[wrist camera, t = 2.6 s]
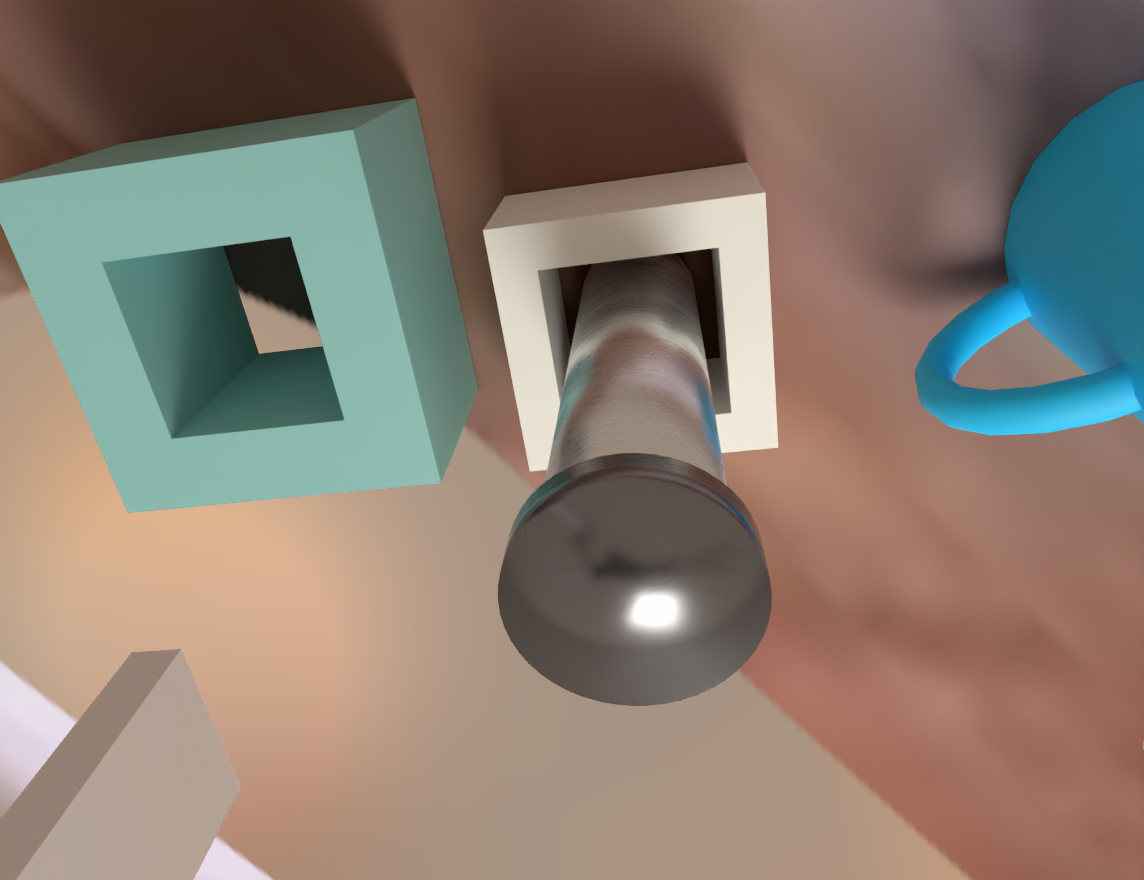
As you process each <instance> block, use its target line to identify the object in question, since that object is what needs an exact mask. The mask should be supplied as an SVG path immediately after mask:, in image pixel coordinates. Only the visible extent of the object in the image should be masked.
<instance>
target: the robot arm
mask: <svg viewBox="0 0 1144 880" xmlns="http://www.w3.org/2000/svg"><path fill="white" fill-rule="evenodd" d="M1143 749H1144V743H1143ZM240 788H241V786H240V783H239V781H238V779H237V777H236V774H235V772H234V770H233V767H232V765H231V763H230V760H229V758H228V756H227V754H226V751H225V749H224V747H223V744H222V742H221V740H220V737H219V735H218V733H217V731H216V728H215V727H214V724H213V721H212V719H211V717H210V715H209V712H208V710H207V708H206V705H205V703H204V701H203V699H202V696H201V694H200V692H199V689H198V687H197V685H196V683H195V680H194V678H193V676H192V673H191V671H190V669H189V666H188V664H187V662H186V660H185V657H184V655H183V653H182V651H181V649H177V650H164V651H163V650H162V651H148V652H134V653H133V652H132V653H131V654H130V656H129V657H128V658H127V659H126V661H125V662H124V663H123V665H122V666H121V667H120V668H119V670H118V671H117V672H116V673H115V675H114V676H113V677H112V679H111V680H110V681H109V682H108V684H107V685H106V686H105V687H104V689H103V690H102V691H101V693H100V694H99V695H98V696H97V698H96V699H95V700H94V702H93V703H92V704H91V705H90V706H89V708H88V709H87V710H86V712H85V713H84V714H83V715H82V717H81V718H80V719H79V720H78V722H77V723H76V724H75V726H74V727H73V728H72V729H71V731H70V732H69V733H68V734H67V736H66V737H65V738H64V740H63V741H62V742H61V743H60V745H59V746H58V747H57V749H56V750H55V751H54V752H53V754H52V755H51V756H50V757H49V759H48V760H47V761H46V763H45V764H44V765H43V766H42V768H41V769H40V770H39V771H38V773H37V774H36V775H35V777H34V778H33V779H32V780H31V782H30V783H29V784H28V785H27V787H26V788H25V789H24V791H23V792H22V793H21V794H20V796H19V797H18V798H17V799H16V801H15V802H14V803H13V805H12V806H11V807H10V808H9V810H8V811H7V812H6V813H5V815H4V816H3V817H2V819H1V820H0V880H193V879H194V877H195V875H196V873H197V871H198V870H199V868H200V866H201V864H202V862H203V860H204V858H205V856H206V854H207V852H208V850H209V848H210V846H211V844H212V842H213V840H214V839H215V837H216V835H217V833H218V831H219V829H220V827H221V825H222V823H223V821H224V819H225V817H226V815H227V813H228V811H229V809H230V807H231V805H232V804H233V802H234V800H235V798H236V796H237V794H238V791H239V790H240Z"/></svg>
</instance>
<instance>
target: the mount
mask: <svg viewBox="0 0 1144 880" xmlns="http://www.w3.org/2000/svg"><path fill="white" fill-rule="evenodd" d="M483 234H484V239H485V244H486V249H487V254H488V259H489V264H490V269H491V274H492V280H493V285H494V290H495V295H496V300H497V305H498V310H499V315H500V320H501V326H502V331H503V336H504V341H505V346H506V351H507V356H508V361H509V367H510V372H511V377H512V382H513V387H514V392H515V397H516V402H517V407H518V413H519V418H520V423H521V428H522V433H523V438H524V443H525V448H526V454H527V459H528V464H529V469H530V471H539V470H547V468H548V463H549V458H550V453H551V448H552V443H553V438H554V433H555V428H556V423H557V418H558V412H559V407H560V402H561V397H562V392H563V387H564V382H565V377H566V372H567V367H568V362H569V356H570V351H571V347H570V341H569V335H568V329H567V323H566V316H565V310H564V304H563V298H562V291H561V285H560V279H559V273H558V268H561V267H569V266H577V265H585V264H593V263H601V262H609V261H617V260H624V259H632V258H640V257H648V256H656V255H664V254H672V253H680V252H688V251H695V250H703V249H711V250H712V262H713V275H714V288H715V300H716V313H717V325H718V338H719V351H720V358H712V359H706V363H707V369H708V375H709V381H710V387H711V393H712V399H713V405H714V411H715V417H716V423H717V429H718V435H719V441H720V448H721V453H726V452H736V451H747V450H757V449H767V448H778V435H777V415H776V395H775V375H774V355H773V336H772V316H771V296H770V276H769V256H768V236H767V216H766V196H765V191H764V189H763V188H762V186H761V184H760V182H759V181H758V179H757V177H756V175H755V174H754V172H753V170H752V168H751V167H750V165H749V163H748V162H746V163H739V164H732V165H725V166H717V167H710V168H703V169H696V170H689V171H681V172H674V173H667V174H660V175H653V176H645V177H638V178H631V179H624V180H617V181H609V182H602V183H595V184H588V185H581V186H573V187H566V188H559V189H552V190H544V191H537V192H530V193H523V194H516V195H508V196H505V197H504V198H503V200H502V201H501V203H500V204H499V206H498V207H497V209H496V211H495V212H494V214H493V215H492V217H491V218H490V220H489V222H488V223H487V225H486V226H485V228H484V229H483Z"/></svg>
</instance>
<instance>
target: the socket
mask: <svg viewBox="0 0 1144 880" xmlns="http://www.w3.org/2000/svg"><path fill="white" fill-rule="evenodd" d="M0 223H1V225H2V228H3V230H4V232H5V234H6V237H7V239H8V241H9V244H10V246H11V248H12V250H13V253H14V255H15V257H16V259H17V262H18V264H19V266H20V269H21V271H22V273H23V275H24V278H25V280H26V282H27V284H28V287H29V289H30V291H31V294H32V296H33V298H34V300H35V303H36V305H37V307H38V309H39V312H40V314H41V316H42V319H43V321H44V323H45V325H46V327H47V330H48V332H49V334H50V336H51V339H52V341H53V343H54V346H55V348H56V350H57V353H58V355H59V357H60V359H61V362H62V364H63V366H64V368H65V371H66V373H67V375H68V377H69V380H70V382H71V384H72V387H73V389H74V391H75V393H76V396H77V398H78V400H79V403H80V405H81V407H82V409H83V411H84V414H85V416H86V418H87V421H88V423H89V425H90V428H91V430H92V432H93V434H94V436H95V439H96V441H97V443H98V446H99V448H100V450H101V453H102V455H103V457H104V459H105V462H106V464H107V466H108V468H109V471H110V472H111V475H112V478H113V480H114V482H115V484H116V487H117V489H118V491H119V493H120V495H121V498H122V500H123V503H124V505H125V507H126V509H127V512H128V513H132V512H133V513H134V512H144V511H154V510H165V509H175V508H185V507H196V506H206V505H217V504H227V503H237V502H248V501H258V500H269V499H279V498H288V497H289V498H290V497H300V496H310V495H320V494H331V493H342V492H352V491H362V490H372V489H383V488H394V487H404V486H414V485H424V484H435V483H441V481H442V479H443V477H444V474H445V472H446V469H447V467H448V464H449V462H450V459H451V457H452V454H453V452H454V449H455V447H456V444H457V442H458V439H459V437H460V434H461V432H462V430H463V427H464V425H465V422H466V420H467V417H468V415H469V412H470V410H471V407H472V405H473V402H474V400H475V397H476V395H477V392H478V386H477V381H476V377H475V372H474V367H473V363H472V358H471V353H470V349H469V344H468V339H467V335H466V330H465V326H464V321H463V316H462V312H461V307H460V302H459V298H458V293H457V288H456V284H455V279H454V274H453V270H452V265H451V261H450V256H449V251H448V247H447V242H446V237H445V233H444V228H443V223H442V219H441V214H440V209H439V205H438V200H437V195H436V191H435V186H434V182H433V177H432V172H431V168H430V163H429V158H428V154H427V149H426V144H425V140H424V135H423V130H422V126H421V121H420V117H419V112H418V107H417V103H416V98H410V99H404V100H398V101H391V102H385V103H378V104H372V105H366V106H359V107H353V108H346V109H340V110H333V111H327V112H321V113H314V114H308V115H301V116H295V117H288V118H282V119H276V120H269V121H263V122H256V123H250V124H244V125H237V126H231V127H224V128H218V129H211V130H205V131H199V132H192V133H186V134H179V135H173V136H166V137H160V138H154V139H147V140H141V141H134V142H128V143H122V144H117V145H114V146H111V147H108V148H104V149H101V150H98V151H95V152H92V153H88V154H85V155H82V156H79V157H76V158H72V159H69V160H66V161H63V162H59V163H56V164H53V165H50V166H47V167H43V168H40V169H37V170H34V171H31V172H27V173H24V174H21V175H18V176H15V177H11V178H8V179H5V180H2V181H0ZM283 237H291V240H292V243H293V247H294V250H295V254H296V257H297V260H298V264H299V267H300V271H301V274H302V277H303V281H304V284H305V288H306V291H307V294H308V298H309V301H310V305H311V308H312V311H313V315H314V318H315V322H316V325H317V328H318V332H319V335H320V338H321V342H322V345H323V346H322V347H314V348H305V349H297V350H289V351H280V352H272V353H263V354H259V353H258V350H257V347H256V344H255V341H254V338H253V335H252V332H251V329H250V326H249V322H248V320H247V316H246V313H245V310H244V308H243V304H242V301H241V298H240V295H239V292H238V289H237V286H236V283H235V280H234V277H233V274H232V271H231V268H230V265H229V262H228V259H227V256H226V253H225V250H224V247H223V246H225V245H232V244H239V243H247V242H254V241H261V240H269V239H276V238H283Z"/></svg>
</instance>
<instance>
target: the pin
mask: <svg viewBox="0 0 1144 880" xmlns="http://www.w3.org/2000/svg"><path fill="white" fill-rule="evenodd" d="M771 596H772V593H771V586H770V579H769V574H768V569H767V564H766V560H765V555H764V550H763V545H762V541H761V538H760V534H759V531H758V528H757V526H756V524H755V522H754V520H753V517H752V515H751V514H750V512H749V511H748V509H747V508H746V506H745V505H744V503H743V502H742V501H741V500H740V499H739V498H738V496H737V495H736V494H735V493H734V492H733V491H732V490H731V489H730V488H729V487H727V484H726V478H725V472H724V466H723V460H722V454H721V448H720V441H719V435H718V429H717V423H716V417H715V411H714V405H713V399H712V393H711V387H710V381H709V375H708V369H707V363H706V357H705V350H704V344H703V338H702V332H701V326H700V320H699V314H698V308H697V302H696V296H695V290H694V284H693V280H692V276H691V274H690V272H689V270H688V268H687V266H686V265H685V263H684V262H683V261H682V260H681V258H680V257H679V256H678V255H676V254H675V253H672V254H664V255H656V256H648V257H640V258H632V259H624V260H617V261H609V262H601V263H593V264H592V266H591V267H590V269H589V271H588V273H587V275H586V278H585V281H584V285H583V290H582V295H581V300H580V306H579V311H578V316H577V321H576V326H575V331H574V336H573V341H572V346H571V351H570V356H569V362H568V367H567V372H566V377H565V382H564V387H563V392H562V397H561V402H560V407H559V412H558V418H557V423H556V428H555V433H554V438H553V443H552V448H551V453H550V458H549V463H548V468H547V473H546V479H545V483H543V484H542V485H541V486H540V487H539V488H538V489H537V490H536V491H535V492H534V493H533V494H532V495H531V496H530V497H529V498H528V500H527V501H526V503H525V504H524V505H523V506H522V508H521V509H520V511H519V513H518V515H517V517H516V519H515V521H514V524H513V526H512V529H511V532H510V535H509V539H508V543H507V547H506V551H505V555H504V560H503V564H502V568H501V573H500V578H499V584H498V602H499V609H500V615H501V618H502V621H503V624H504V627H505V629H506V631H507V633H508V635H509V638H510V640H511V641H512V643H513V644H514V646H515V647H516V649H517V650H518V652H519V653H520V654H521V655H522V656H523V657H524V659H525V660H526V661H527V662H528V663H529V664H530V665H531V666H532V667H533V668H535V669H536V670H537V671H538V672H539V673H540V674H541V675H543V676H544V677H546V678H547V679H549V680H550V681H552V682H553V683H555V684H557V685H559V686H560V687H562V688H564V689H566V690H568V691H570V692H573V693H575V694H578V695H580V696H583V697H586V698H590V699H593V700H596V701H601V702H605V703H611V704H618V705H630V706H640V705H641V706H644V705H645V706H648V705H657V704H665V703H670V702H674V701H680V700H683V699H686V698H689V697H692V696H695V695H698V694H700V693H702V692H705V691H707V690H709V689H711V688H713V687H714V686H716V685H718V684H719V683H721V682H723V681H724V680H726V679H727V678H728V677H730V676H731V675H732V674H734V673H735V672H736V671H737V670H738V669H739V668H740V667H741V666H742V665H743V664H744V663H745V662H746V661H747V660H748V659H749V658H750V656H751V655H752V654H753V652H754V651H755V650H756V648H757V647H758V645H759V643H760V641H761V639H762V638H763V636H764V633H765V630H766V628H767V625H768V622H769V617H770V612H771Z"/></svg>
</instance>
